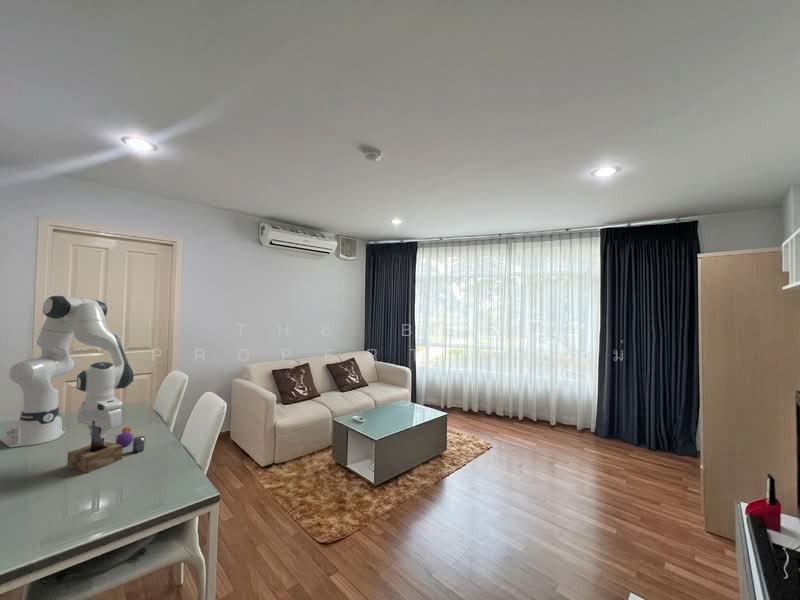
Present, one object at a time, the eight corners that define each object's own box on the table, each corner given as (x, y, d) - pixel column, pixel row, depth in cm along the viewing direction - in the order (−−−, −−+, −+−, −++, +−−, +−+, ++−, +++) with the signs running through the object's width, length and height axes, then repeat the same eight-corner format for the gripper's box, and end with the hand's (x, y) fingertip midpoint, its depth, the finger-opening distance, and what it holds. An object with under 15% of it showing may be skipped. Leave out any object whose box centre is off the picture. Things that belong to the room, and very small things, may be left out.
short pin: (130, 452, 144) (131, 438, 144) (139, 448, 148) (140, 435, 148) (136, 453, 143) (137, 440, 143) (146, 450, 147) (146, 436, 147)
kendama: (135, 424, 167) (134, 434, 151) (131, 436, 165) (130, 447, 150) (120, 424, 163) (118, 434, 147) (116, 437, 162) (113, 448, 146)
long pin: (87, 455, 132) (89, 420, 133) (99, 451, 136) (101, 417, 136) (94, 456, 131) (96, 421, 131) (105, 452, 135) (107, 418, 135)
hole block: (66, 467, 129) (68, 452, 129) (102, 455, 141) (102, 441, 141) (87, 473, 126) (88, 457, 126) (121, 459, 137) (122, 445, 137)
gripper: (73, 401, 134) (71, 435, 134) (108, 407, 128) (106, 442, 128) (91, 397, 140) (89, 430, 140) (125, 403, 134) (123, 437, 134)
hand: (97, 436), depth 134 cm, fingers closed on long pin, 4 cm apart
